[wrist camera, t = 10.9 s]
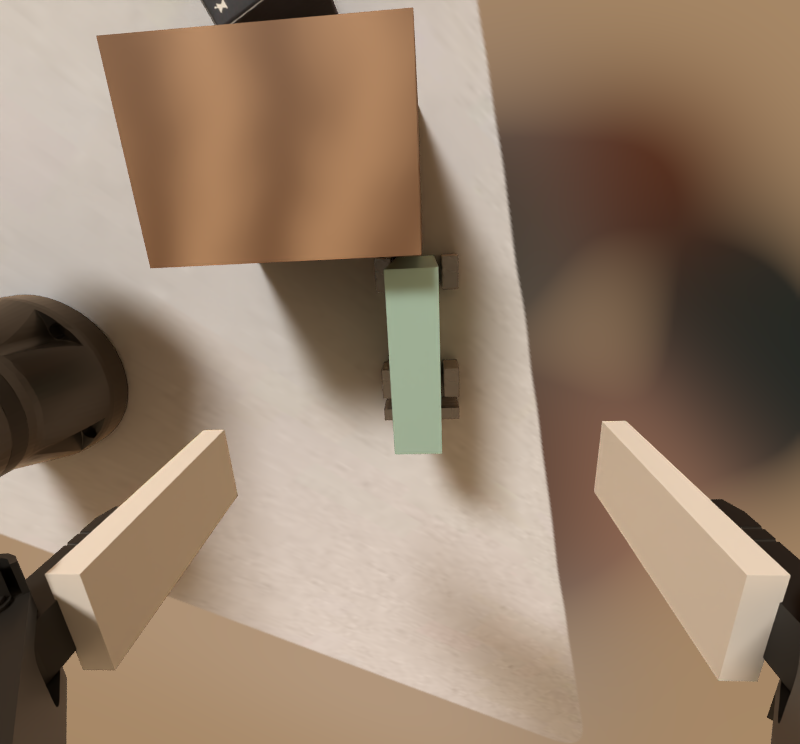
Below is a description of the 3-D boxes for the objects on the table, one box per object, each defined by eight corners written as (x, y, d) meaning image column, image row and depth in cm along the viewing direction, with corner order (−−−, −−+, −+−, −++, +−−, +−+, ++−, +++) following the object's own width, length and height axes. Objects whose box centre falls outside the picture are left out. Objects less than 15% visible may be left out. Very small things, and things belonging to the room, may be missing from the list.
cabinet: (254, 254, 35) (150, 268, 22) (233, 117, 32) (96, 35, 18) (422, 245, 34) (421, 254, 21) (417, 104, 31) (413, 7, 17)
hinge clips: (387, 408, 39) (384, 420, 36) (377, 257, 34) (374, 259, 32) (456, 407, 38) (459, 418, 36) (455, 253, 34) (458, 255, 32)
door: (403, 387, 38) (394, 454, 27) (397, 256, 34) (383, 269, 23) (436, 386, 38) (441, 453, 26) (433, 255, 34) (438, 267, 23)
